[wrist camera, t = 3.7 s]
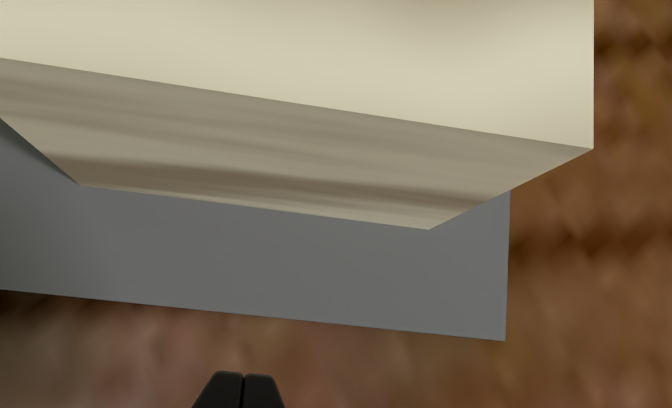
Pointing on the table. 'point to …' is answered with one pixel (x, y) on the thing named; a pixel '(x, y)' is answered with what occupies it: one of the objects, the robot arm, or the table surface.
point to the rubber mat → (247, 255)
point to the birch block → (303, 99)
